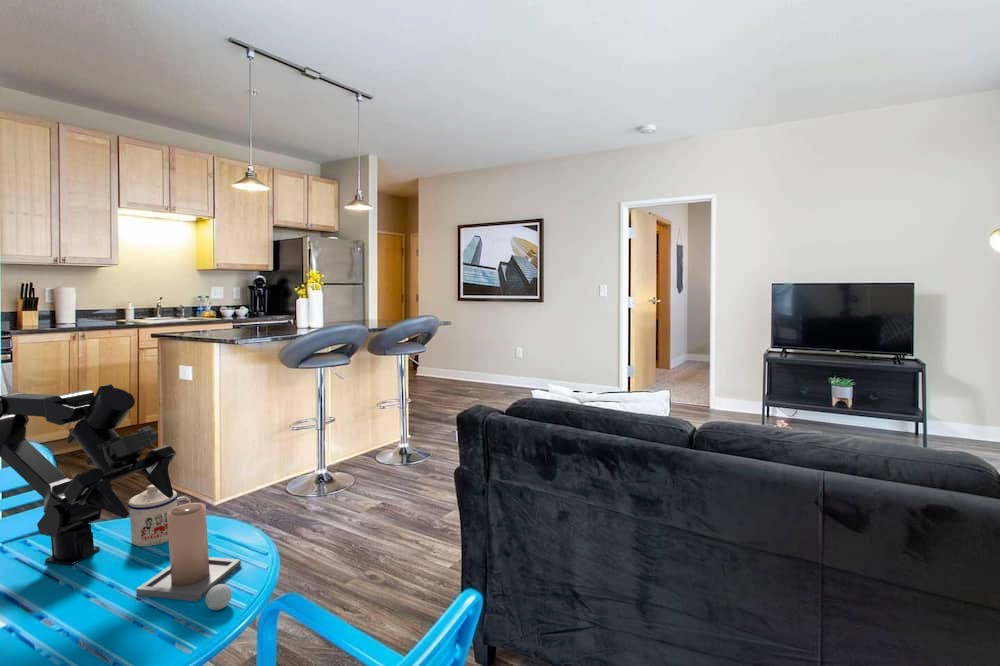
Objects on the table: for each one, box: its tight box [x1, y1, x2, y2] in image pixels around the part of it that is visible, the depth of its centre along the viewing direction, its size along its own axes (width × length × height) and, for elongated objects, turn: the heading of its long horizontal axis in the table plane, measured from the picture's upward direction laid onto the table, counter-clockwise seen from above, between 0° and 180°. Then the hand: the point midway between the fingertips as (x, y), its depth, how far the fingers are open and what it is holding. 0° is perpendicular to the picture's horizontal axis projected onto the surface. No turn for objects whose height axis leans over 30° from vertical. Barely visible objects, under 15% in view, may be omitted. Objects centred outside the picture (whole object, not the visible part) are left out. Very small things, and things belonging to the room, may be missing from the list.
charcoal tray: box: [135, 556, 242, 602], centre depth 100 cm, size 12×12×1 cm
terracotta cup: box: [167, 502, 210, 586], centre depth 100 cm, size 6×6×13 cm
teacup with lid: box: [127, 484, 192, 547], centre depth 117 cm, size 12×9×12 cm
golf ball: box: [204, 583, 233, 611], centre depth 91 cm, size 4×4×4 cm
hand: (150, 506), depth 101 cm, fingers open, 9 cm apart
